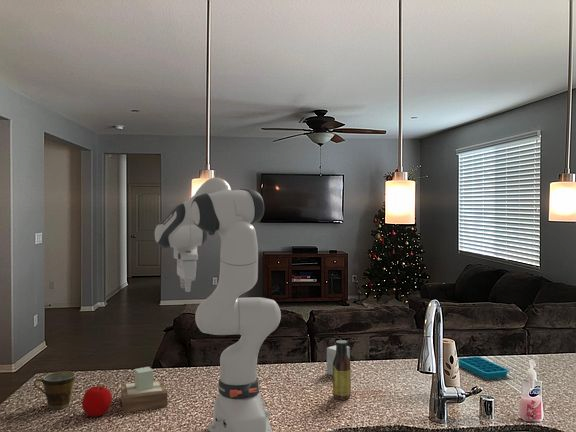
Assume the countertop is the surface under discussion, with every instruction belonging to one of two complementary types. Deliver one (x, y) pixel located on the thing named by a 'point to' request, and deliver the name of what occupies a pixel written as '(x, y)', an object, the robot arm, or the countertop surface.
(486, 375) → the ice cube tray
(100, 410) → the fruit
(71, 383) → the ceramic cup
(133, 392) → the base
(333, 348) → the small box
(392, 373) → the countertop surface
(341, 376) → the sauce bottle
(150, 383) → the block
